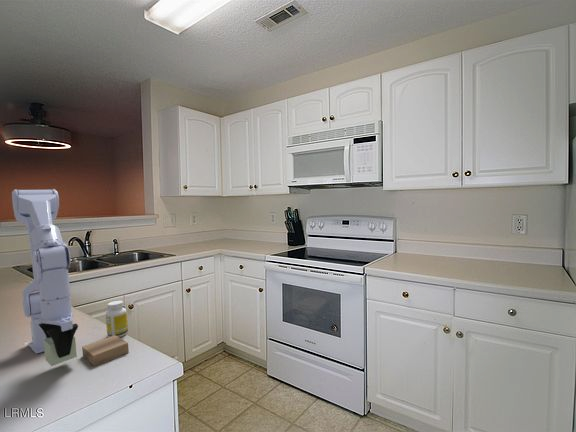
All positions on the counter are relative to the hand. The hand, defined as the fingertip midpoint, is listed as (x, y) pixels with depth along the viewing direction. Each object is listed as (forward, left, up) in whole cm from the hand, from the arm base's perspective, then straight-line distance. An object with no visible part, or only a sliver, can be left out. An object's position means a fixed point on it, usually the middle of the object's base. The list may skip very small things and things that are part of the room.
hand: (60, 352), depth 73 cm
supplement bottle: (-8, +16, -4) cm, 18 cm away
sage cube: (0, 0, -1) cm, 1 cm away
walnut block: (+2, +9, -4) cm, 10 cm away
